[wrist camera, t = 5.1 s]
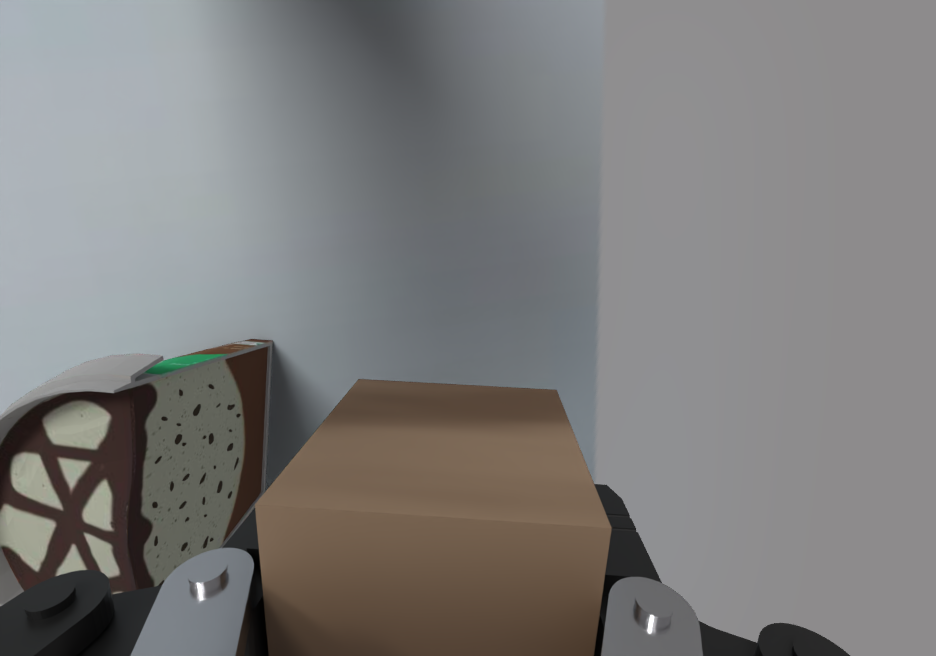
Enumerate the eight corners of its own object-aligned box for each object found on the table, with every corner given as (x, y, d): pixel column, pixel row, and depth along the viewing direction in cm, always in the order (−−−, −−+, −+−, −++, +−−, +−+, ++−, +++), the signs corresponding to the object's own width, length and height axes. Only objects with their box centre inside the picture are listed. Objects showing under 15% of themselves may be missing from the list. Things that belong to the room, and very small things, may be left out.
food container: (160, 295, 23) (-84, 342, 13) (274, 313, 23) (113, 374, 13) (163, 498, 26) (-38, 661, 16) (264, 515, 26) (124, 689, 16)
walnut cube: (358, 378, 11) (255, 504, 6) (556, 390, 11) (612, 527, 6) (362, 545, 12) (278, 761, 7) (540, 557, 12) (575, 787, 7)
